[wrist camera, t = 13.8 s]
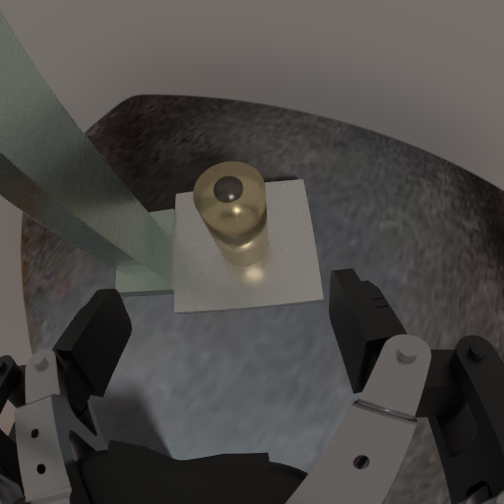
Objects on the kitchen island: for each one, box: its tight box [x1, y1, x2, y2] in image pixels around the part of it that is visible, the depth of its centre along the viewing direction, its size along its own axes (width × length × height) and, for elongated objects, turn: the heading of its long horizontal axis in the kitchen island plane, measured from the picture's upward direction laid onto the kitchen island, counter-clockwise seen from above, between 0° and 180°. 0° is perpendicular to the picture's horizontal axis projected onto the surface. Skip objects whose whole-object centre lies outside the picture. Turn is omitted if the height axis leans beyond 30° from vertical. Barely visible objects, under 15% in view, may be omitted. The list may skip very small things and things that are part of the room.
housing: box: [193, 161, 269, 267], centre depth 21 cm, size 4×4×9 cm
